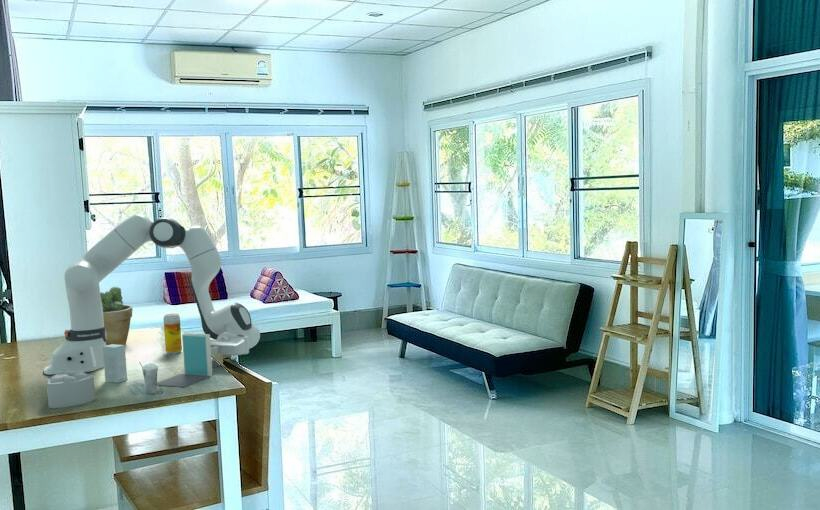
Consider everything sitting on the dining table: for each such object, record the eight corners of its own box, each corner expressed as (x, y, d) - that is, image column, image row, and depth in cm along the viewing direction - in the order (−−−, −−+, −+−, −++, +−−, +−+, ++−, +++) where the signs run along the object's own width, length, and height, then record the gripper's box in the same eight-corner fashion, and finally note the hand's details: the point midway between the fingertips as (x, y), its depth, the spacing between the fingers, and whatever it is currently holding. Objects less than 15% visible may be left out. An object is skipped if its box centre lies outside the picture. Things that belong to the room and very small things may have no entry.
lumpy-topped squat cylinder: (48, 400, 228) (46, 373, 227) (94, 394, 233) (92, 367, 233) (48, 409, 218) (46, 380, 218) (96, 402, 224) (94, 374, 223)
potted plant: (118, 339, 322) (114, 282, 320) (144, 343, 311) (140, 284, 309) (78, 347, 307) (74, 287, 305) (104, 352, 296) (99, 290, 294)
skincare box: (127, 379, 250) (125, 344, 249) (118, 383, 246) (115, 347, 245) (114, 378, 253) (111, 343, 251) (104, 381, 249) (101, 346, 248)
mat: (181, 374, 255) (181, 373, 255) (210, 376, 250) (210, 375, 250) (152, 385, 242) (152, 384, 242) (182, 387, 237) (182, 386, 237)
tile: (188, 373, 257) (185, 333, 255) (212, 374, 253) (209, 334, 252) (184, 374, 255) (181, 334, 253) (208, 376, 251) (205, 335, 250)
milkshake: (143, 391, 235) (141, 360, 234) (160, 390, 235) (158, 359, 234) (139, 395, 230) (137, 363, 229) (157, 394, 231) (155, 362, 230)
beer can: (177, 354, 287) (174, 316, 286) (162, 354, 289) (160, 316, 287) (184, 350, 293) (182, 313, 292) (170, 350, 294) (168, 313, 293)
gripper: (204, 333, 274) (179, 341, 261) (251, 336, 266) (228, 344, 253) (205, 350, 274) (180, 359, 261) (252, 353, 266) (229, 362, 254)
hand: (204, 352), depth 257 cm, fingers closed
